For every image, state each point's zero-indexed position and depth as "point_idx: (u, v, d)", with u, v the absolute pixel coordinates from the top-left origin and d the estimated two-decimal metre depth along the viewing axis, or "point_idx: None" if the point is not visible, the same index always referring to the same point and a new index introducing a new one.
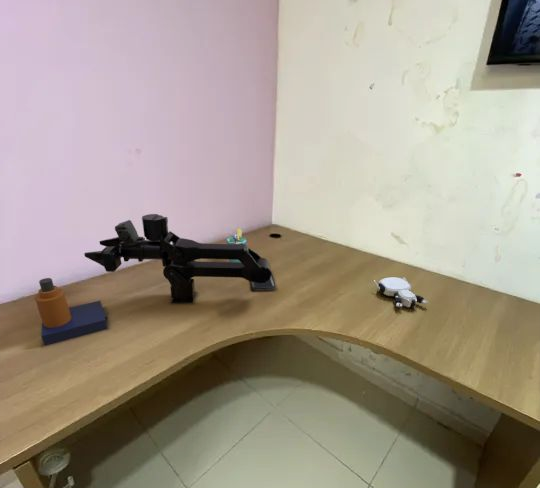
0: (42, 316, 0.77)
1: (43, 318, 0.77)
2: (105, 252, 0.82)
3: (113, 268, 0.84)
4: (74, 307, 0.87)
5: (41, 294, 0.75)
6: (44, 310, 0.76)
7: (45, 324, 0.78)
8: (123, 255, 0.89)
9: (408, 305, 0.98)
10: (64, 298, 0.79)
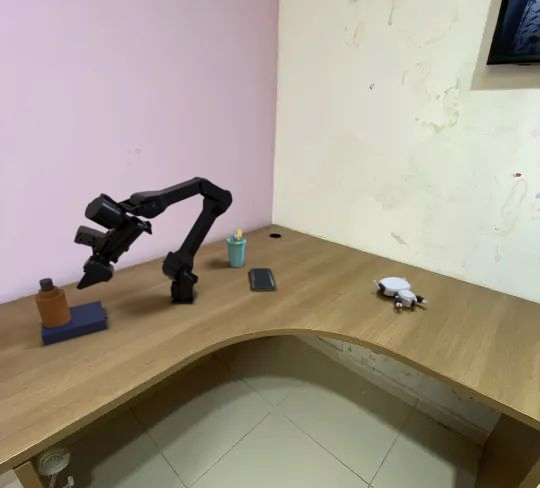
0: (42, 316, 0.77)
1: (43, 318, 0.77)
2: (86, 265, 0.69)
3: (108, 273, 0.72)
4: (74, 307, 0.87)
5: (41, 294, 0.75)
6: (44, 310, 0.76)
7: (45, 324, 0.78)
8: (108, 259, 0.77)
9: (408, 305, 0.98)
10: (64, 298, 0.79)
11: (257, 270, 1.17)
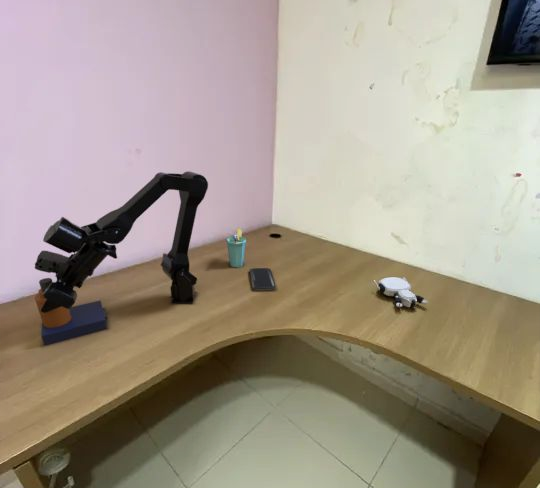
0: (42, 316, 0.77)
1: (43, 318, 0.77)
2: (45, 294, 0.69)
3: (69, 300, 0.71)
4: (74, 307, 0.87)
5: (41, 294, 0.75)
6: None
7: (45, 324, 0.78)
8: (72, 283, 0.76)
9: (408, 305, 0.98)
10: None
11: (257, 270, 1.17)
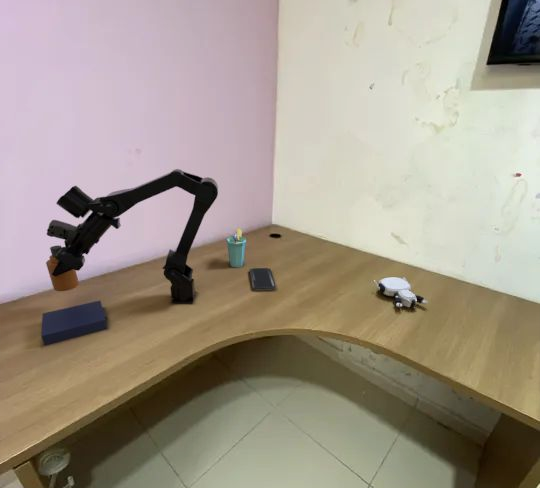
0: (53, 280, 0.85)
1: (54, 282, 0.85)
2: (57, 256, 0.77)
3: (78, 262, 0.79)
4: (74, 307, 0.87)
5: (52, 259, 0.83)
6: None
7: (55, 288, 0.86)
8: (80, 250, 0.84)
9: (408, 305, 0.98)
10: None
11: (257, 270, 1.17)
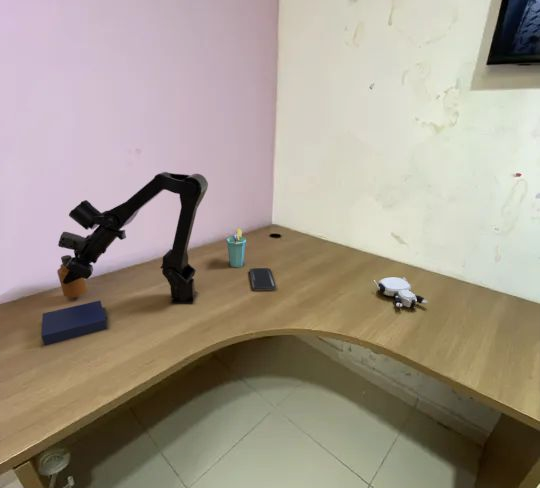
0: (63, 287, 0.92)
1: (64, 289, 0.92)
2: (68, 265, 0.83)
3: (87, 271, 0.85)
4: (74, 307, 0.87)
5: (63, 268, 0.90)
6: None
7: (66, 294, 0.93)
8: (88, 259, 0.90)
9: (408, 305, 0.98)
10: None
11: (257, 270, 1.17)
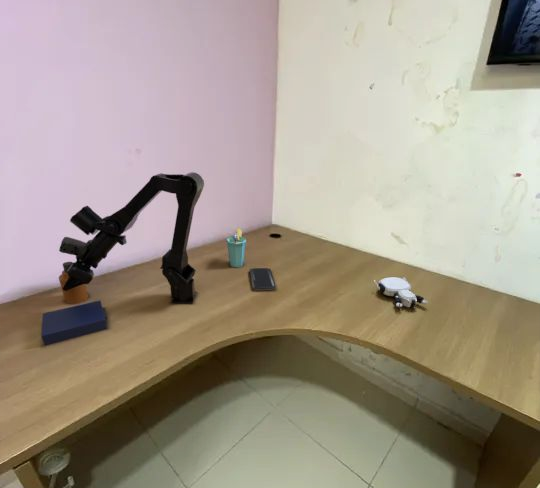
0: (64, 293, 0.92)
1: (65, 295, 0.93)
2: (69, 271, 0.84)
3: (88, 277, 0.86)
4: (74, 307, 0.87)
5: (64, 275, 0.91)
6: None
7: (67, 300, 0.93)
8: (89, 264, 0.91)
9: (408, 305, 0.98)
10: None
11: (257, 270, 1.17)
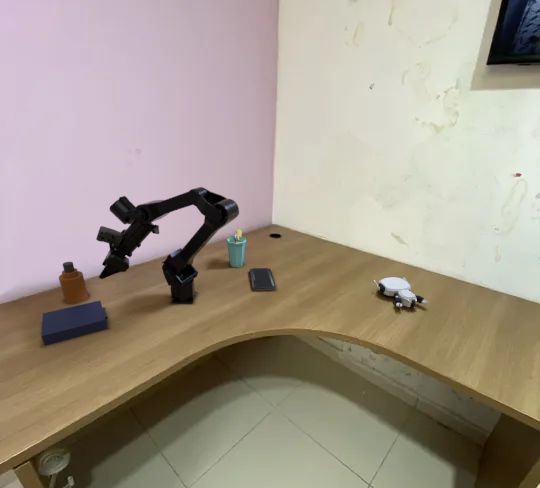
0: (64, 293, 0.92)
1: (65, 295, 0.93)
2: (107, 259, 0.86)
3: (125, 264, 0.88)
4: (74, 307, 0.87)
5: (64, 275, 0.91)
6: (67, 288, 0.91)
7: (67, 300, 0.93)
8: (124, 253, 0.93)
9: (408, 305, 0.98)
10: (82, 279, 0.94)
11: (257, 270, 1.17)
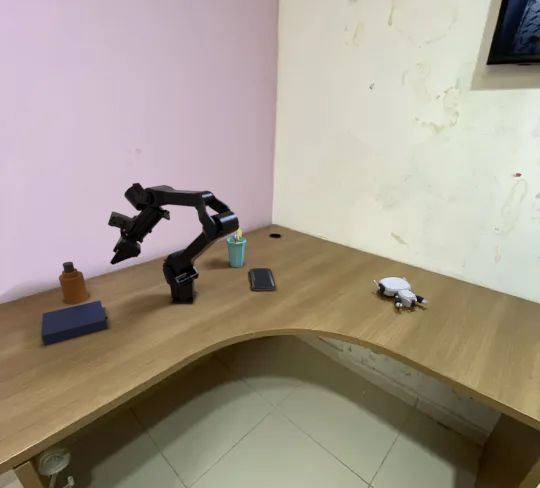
0: (64, 293, 0.92)
1: (65, 295, 0.93)
2: (120, 243, 0.85)
3: (137, 250, 0.87)
4: (74, 307, 0.87)
5: (64, 275, 0.91)
6: (67, 288, 0.91)
7: (67, 300, 0.93)
8: (135, 239, 0.92)
9: (408, 305, 0.98)
10: (82, 279, 0.94)
11: (257, 270, 1.17)
